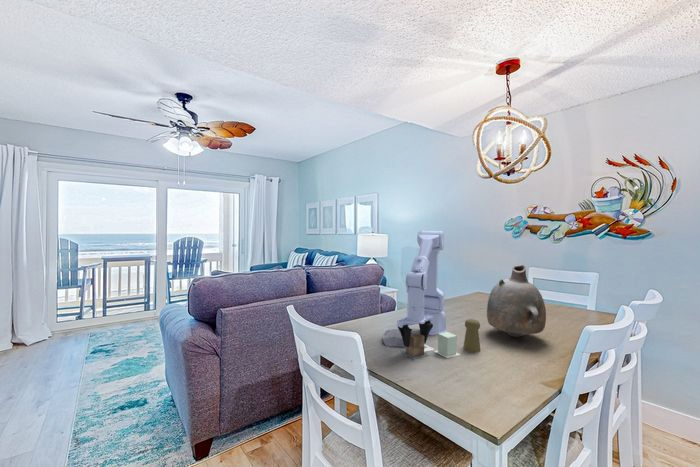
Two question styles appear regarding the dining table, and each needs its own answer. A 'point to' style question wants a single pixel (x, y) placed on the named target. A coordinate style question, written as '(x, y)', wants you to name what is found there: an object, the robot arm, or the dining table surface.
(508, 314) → the jug
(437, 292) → the robot arm
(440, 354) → the tile
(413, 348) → the walnut block
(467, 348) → the cork
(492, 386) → the dining table surface
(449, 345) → the sage block
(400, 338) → the stone block
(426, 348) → the cream tile
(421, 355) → the charcoal mat
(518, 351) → the dining table surface
